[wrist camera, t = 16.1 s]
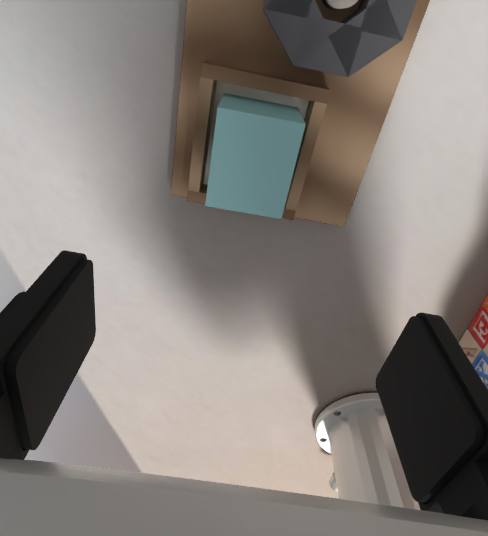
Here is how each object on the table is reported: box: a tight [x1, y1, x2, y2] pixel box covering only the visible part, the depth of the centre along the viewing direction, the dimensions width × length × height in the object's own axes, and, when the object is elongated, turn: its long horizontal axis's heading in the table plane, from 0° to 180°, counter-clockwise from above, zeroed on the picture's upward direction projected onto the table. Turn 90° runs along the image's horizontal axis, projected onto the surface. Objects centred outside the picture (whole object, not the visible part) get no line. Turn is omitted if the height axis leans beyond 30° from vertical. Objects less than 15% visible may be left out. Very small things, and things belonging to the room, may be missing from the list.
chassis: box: [171, 0, 430, 227], centre depth 23 cm, size 19×14×4 cm
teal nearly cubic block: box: [205, 93, 306, 219], centre depth 24 cm, size 6×5×5 cm
